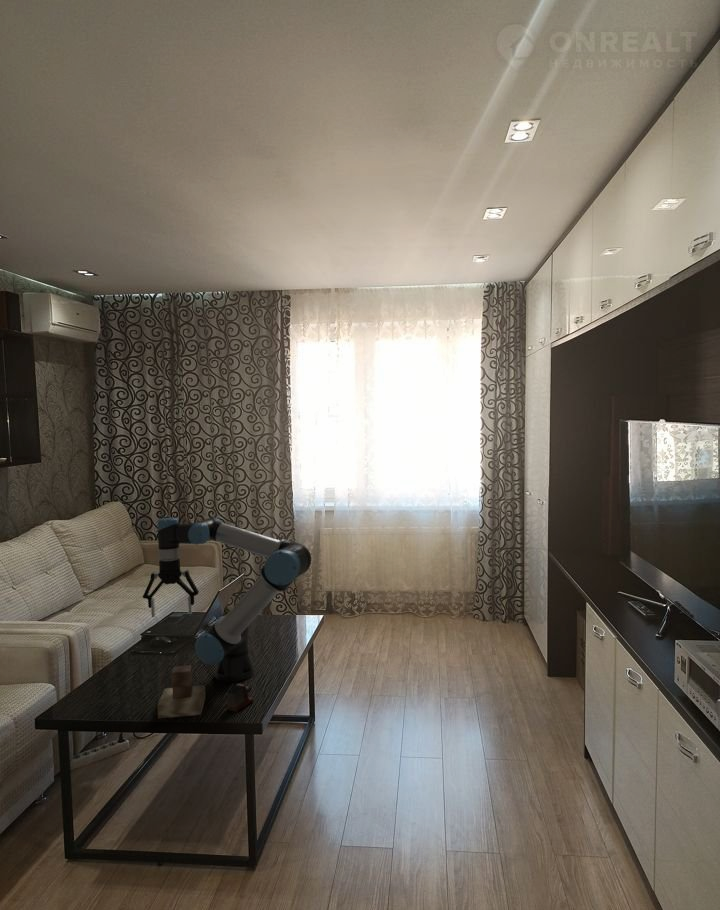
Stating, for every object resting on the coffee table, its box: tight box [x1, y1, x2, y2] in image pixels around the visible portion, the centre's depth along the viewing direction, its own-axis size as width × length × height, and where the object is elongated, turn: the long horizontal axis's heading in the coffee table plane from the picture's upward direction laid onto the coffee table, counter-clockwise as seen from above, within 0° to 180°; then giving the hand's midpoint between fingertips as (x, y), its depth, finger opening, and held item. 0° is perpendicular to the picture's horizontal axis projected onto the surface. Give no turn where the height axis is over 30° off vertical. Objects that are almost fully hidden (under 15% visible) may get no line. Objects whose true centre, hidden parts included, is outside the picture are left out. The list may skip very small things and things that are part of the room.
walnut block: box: [171, 664, 194, 699], centre depth 222 cm, size 6×6×9 cm
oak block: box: [156, 684, 206, 719], centre depth 222 cm, size 14×14×5 cm
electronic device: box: [226, 683, 255, 713], centre depth 222 cm, size 4×10×8 cm, turn 149°
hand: (172, 614), depth 243 cm, fingers open, 13 cm apart
